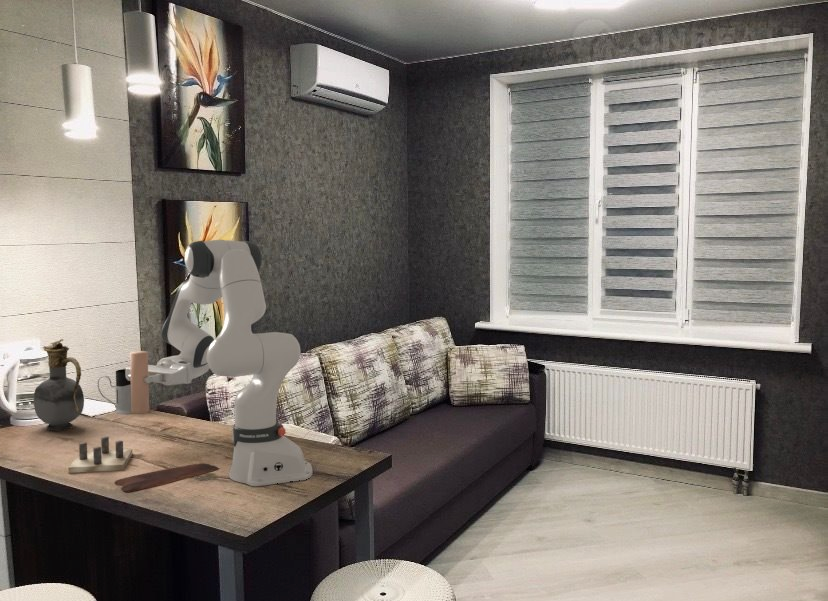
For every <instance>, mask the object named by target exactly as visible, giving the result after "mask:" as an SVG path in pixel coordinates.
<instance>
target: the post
mask: <svg viewBox="0 0 828 601" xmlns="http://www.w3.org/2000/svg"><path fill="white" fill-rule="evenodd" d="M129 363H130V364H129V367H130V376H131V410H132V413H133V414H144V413H148V412H149V411H150V394H149V390H150V389H149V385H150V383H145V382H144V377H146V376H148V365H149V352H148V351H147V350H139V351H138V350H137V351H131V352H129Z"/></svg>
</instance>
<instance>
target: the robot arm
mask: <svg viewBox="0 0 828 601" xmlns="http://www.w3.org/2000/svg"><path fill="white" fill-rule="evenodd" d="M184 263H185V264H184V265H185V267H186V271H187V272H188V273H189V274H190V276H189V279H185V281H183V282H182V283H181V284H180V286H179V288H178V289H177V291H176V293H175V296H174V299H173V302H172V304H171V308H170V310H169V313H168V316H167V318H166V320H165V322H164V323H163V325H162V327H161V337H162V340H163V342H165V343H167V344H168V345H171V346H172V347H174V348H175V349H177V350H178V351H180V353H179V354H178V355H171V356H167V357H163V358H161V359H160V360H158V361H157V363H156V365H151V364H148V376H146V377H144V382H145V383H149V384H151V383H156V384H157V383H158V384H159V383H160V384H162V385H164V386H172V385H188V384H191V383H192V380H194V379H196V378H199V377H200V376H202V375H204V374H206V373H207V372H208V371H209V370H210V371H211V372H212V373H213V374H214V375H216V376H217V377H218V376H219V377H229V378H230V377H231V378H237V377H244V376H252V375H253V376H252V378H251V381H250V382H249V383H248V384H247V385H246V386H244V387H243V388H242V389H241V390H239V391H238V392H237V394H236V395H235V398H234V401H233V402H234V408H233V409H234V424H232V426H233V427H232V444H233V455H232V461H231V466H230V470H229V474H228V477H229V478H230V479H231V481H234V482H237V483H242V484H246V485H248V486H251V487H260V486H261V487H262V486H268V485H277V483H278V484H282V483H283V484H285V483H291V482H290V481H293V482H297V481H299V480H300V481H306V479H307V480H308V478H309V479H310V478H311V477H312V476H313V466H312V464H311V463H310V462H309V461H306V460H305V456H304V453H303V450H302V448H301V447H300V446H299V445H298V444H297V443H295V442H293V441H292V440H290V439H289V438H287V437H286V436H285V435H286V428H285V427H284V425H283V424H282V422H278V421H277V403H278V394H279V390H280V388H281V385H282V383H283V382H284V379H285V378H286V376H287V375H288V373H289V372H290V371H291V370H292V369H294V367H296V365H297V364H298V363H299V361H300V358H301V353H302V352H301V345H300V342H299V341H298V339H297V338H296V337H295V335H293V334H291V333H286V332H279V331H278V332H277V331H273V332H262V333H261V332H260V333H253V331H252V325H254V323H256V322H258V321H259V320H260V319H261V318H263V317H264V314H265V312H266V310H267V303H266V300H265V295H264V290H263V286H262V285H263V284H262V281H261V277H260V273H259V271H260V270H261V268H262V263H263V256H262V251H261V248H260V247H259V246H258V245H257V243H255V242H253V241H248V240H243V241H241V240H227V239H226V240H225V239H211V240H206V241H205V240H196V241H193V242H190V243H189V244H188V246H186V249H185V253H184ZM220 299H222V303H223V310H224V311H223V312H224V321H223V326H222V329H221V330H220V332H219V334H218V335H217V336H216V338H214V337H213V336H212V334H209V333H208V332H207V331H206V330H203V329H202V328H201V327H199V326H197V325H196V324H195V323H193V322H192V321H191V320H190V319H189V317H188V314H189V311H190V308H191V306H192V304H197V305H201V306H202V305H203V306H204V305H211V304H214V303H217V302H218V301H219V300H220ZM125 369H126V370H125V374H126V379H127V380H128V381H131V376H130V366H127V367H125ZM300 481H299V482H300Z"/></svg>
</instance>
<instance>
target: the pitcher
mask: <svg viewBox="0 0 828 601" xmlns="http://www.w3.org/2000/svg"><path fill="white" fill-rule="evenodd" d="M64 341H65V339H64V338H62V339H59V340H55V341H53V342H50V343H49V345H47V346H45V345H43V347H42V349H43V350H44V351H45V352H46V353H47V356H48V364H47V365H48V367H49V378H48V379H46V380H44V381H42V382H40V384H38V386H36V388H35V389H34V394H33V407H34V408H33V409H34V412H35V414H36V416H37V418H38V419H39V420H41V421H42V422H43V423H44V424H47V426H46V427H47V430H48V429H49V431H52V430H58V431H59V430H62V431H66V429H67V430H70V429H72V428H73V423H72V422H73V421H74V420H76V419H77V418H78V417H80V415H81V414H82V413H83V410H84V407H85V398H84V397H85V396H84V392H83V388H82V387H81V385H80V380H81V377H82V368H81V365H80V362H79V361H78V360H77V359H76V358H75V357H73V356H72V357H71V356H70V357H68V351H69V350H70V347H68V346H67V345H63V343H61V342H64ZM68 363H71V364H72V365H74V367H75V371H76V377H75V380H74V379H72V378H70V377H67V366H68ZM71 427H72V428H71ZM69 428H70V429H69ZM58 431H57V432H58Z"/></svg>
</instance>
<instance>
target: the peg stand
mask: <svg viewBox="0 0 828 601" xmlns="http://www.w3.org/2000/svg"><path fill="white" fill-rule="evenodd" d="M100 442H101V443H100V444H101V446H95V447H93V450H88V443H87V442H86V441H85V442H84V441H83V442H79V444H78V450H79V452H78V455H77V456H76V457H75V458H74V460H73V461H72V462H71V463H70V465H69V466H68V474H70V473H71V474H72V473H73V474H74V473H89V472H90V473H91V472H107V471H108V472H110V471H111V472H112V471H124V469H125V468H126V466H127V465H128V462H129V460H130V459H131V457H132V455H133V449H132V448H124V440H116V441H115V449H110V438H109V436H101V438H100Z"/></svg>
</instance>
